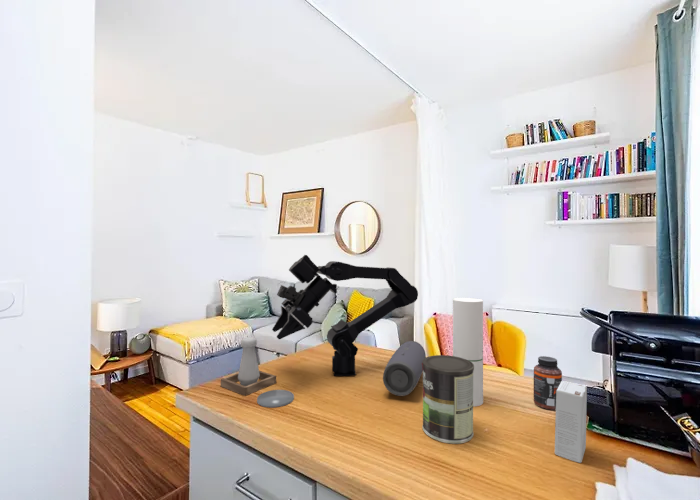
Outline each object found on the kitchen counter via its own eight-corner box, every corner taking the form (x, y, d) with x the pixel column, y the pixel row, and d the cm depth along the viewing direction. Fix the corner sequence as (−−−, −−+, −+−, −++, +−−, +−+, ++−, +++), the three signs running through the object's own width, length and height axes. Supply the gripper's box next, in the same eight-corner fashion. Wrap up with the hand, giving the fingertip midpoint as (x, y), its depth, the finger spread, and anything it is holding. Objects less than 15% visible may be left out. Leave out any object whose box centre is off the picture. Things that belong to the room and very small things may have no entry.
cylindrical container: (484, 397, 87) (483, 298, 87) (482, 408, 80) (482, 302, 81) (455, 392, 90) (454, 297, 90) (450, 403, 83) (450, 300, 84)
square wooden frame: (252, 375, 102) (252, 368, 102) (276, 382, 96) (276, 375, 96) (220, 386, 94) (220, 379, 94) (244, 395, 88) (244, 388, 88)
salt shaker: (262, 381, 97) (262, 335, 98) (255, 389, 92) (255, 340, 92) (242, 380, 98) (243, 335, 98) (234, 388, 92) (234, 340, 92)
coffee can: (427, 444, 66) (427, 370, 66) (418, 418, 76) (418, 354, 76) (481, 445, 65) (481, 371, 65) (465, 418, 76) (465, 355, 76)
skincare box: (559, 441, 67) (559, 379, 67) (587, 449, 64) (587, 384, 64) (553, 455, 62) (553, 388, 62) (583, 465, 59) (583, 395, 59)
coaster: (295, 391, 90) (295, 389, 90) (291, 407, 81) (291, 404, 81) (261, 392, 90) (261, 390, 90) (253, 408, 81) (253, 405, 81)
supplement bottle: (559, 413, 78) (558, 364, 78) (530, 405, 82) (530, 358, 82) (564, 405, 82) (564, 358, 82) (537, 397, 86) (537, 353, 86)
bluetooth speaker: (418, 404, 83) (418, 362, 83) (380, 398, 86) (380, 359, 86) (427, 372, 105) (427, 340, 105) (397, 369, 108) (397, 337, 108)
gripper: (288, 273, 108) (252, 310, 104) (300, 277, 91) (257, 322, 87) (312, 297, 111) (278, 334, 107) (329, 305, 93) (288, 350, 89)
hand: (275, 334), depth 98 cm, fingers open, 9 cm apart
